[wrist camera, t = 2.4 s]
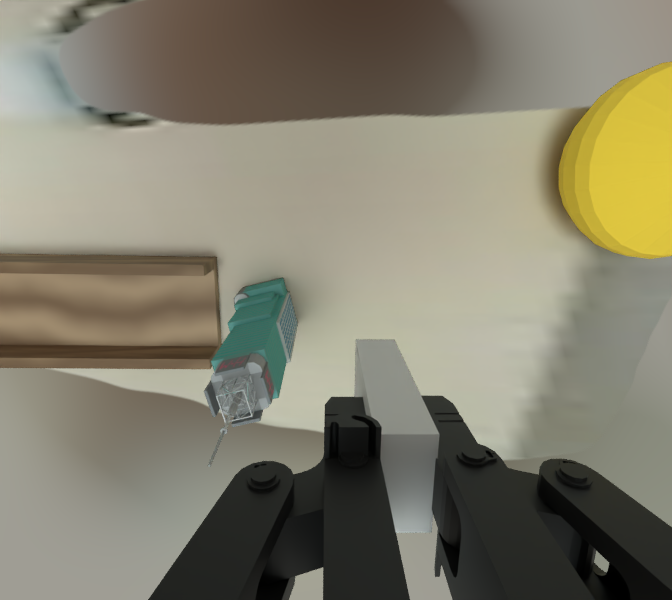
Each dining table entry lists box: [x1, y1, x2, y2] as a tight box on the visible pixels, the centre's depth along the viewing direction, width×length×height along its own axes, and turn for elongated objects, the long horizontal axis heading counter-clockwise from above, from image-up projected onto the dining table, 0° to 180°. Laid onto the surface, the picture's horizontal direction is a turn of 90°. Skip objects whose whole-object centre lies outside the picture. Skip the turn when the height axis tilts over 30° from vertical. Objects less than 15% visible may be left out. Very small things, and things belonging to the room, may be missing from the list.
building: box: [204, 278, 298, 467], centre depth 36 cm, size 6×6×30 cm
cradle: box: [0, 254, 221, 369], centre depth 47 cm, size 12×28×6 cm, turn 89°
